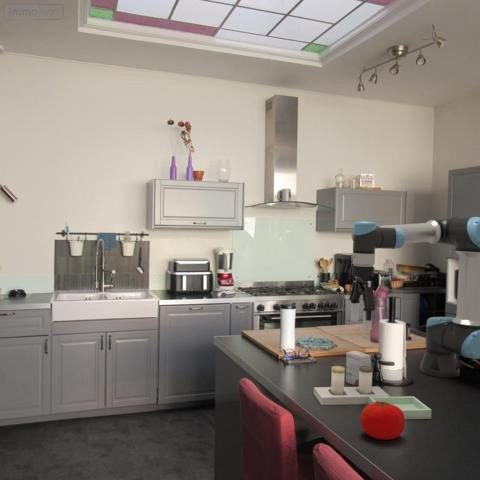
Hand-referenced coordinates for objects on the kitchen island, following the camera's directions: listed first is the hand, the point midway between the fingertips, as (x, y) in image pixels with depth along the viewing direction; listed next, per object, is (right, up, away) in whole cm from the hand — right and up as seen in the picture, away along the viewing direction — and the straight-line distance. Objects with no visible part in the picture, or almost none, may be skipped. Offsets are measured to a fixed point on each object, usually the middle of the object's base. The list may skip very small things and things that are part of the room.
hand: (360, 325), depth 175 cm
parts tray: (+9, -26, -13) cm, 31 cm away
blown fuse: (+1, -25, -2) cm, 26 cm away
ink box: (+2, -25, +14) cm, 29 cm away
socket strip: (-4, -25, -2) cm, 26 cm away
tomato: (-2, -27, -31) cm, 41 cm away
